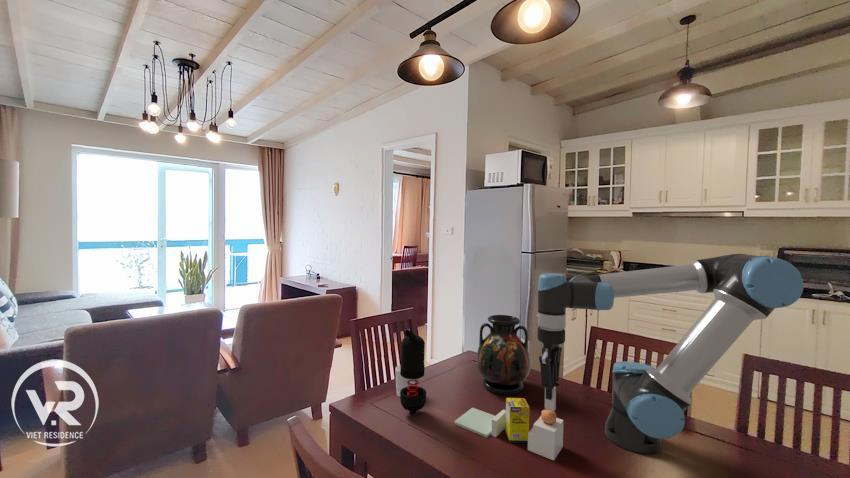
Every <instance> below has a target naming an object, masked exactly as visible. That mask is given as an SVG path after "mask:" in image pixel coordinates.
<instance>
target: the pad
mask: <svg viewBox="0 0 850 478" xmlns="http://www.w3.org/2000/svg"><path fill="white" fill-rule="evenodd" d="M495 416H496V415H494V414H491V413H488V412H486V411H482V410H480V409H478V408H475V407H471V408H470V409H469V410H467V411H466V412H464V413H463V414H461V415H460V416H459V417H458V418H456V419H455V420H454V421H453V425H454V426H457V427H460V428H463V429H464V430H467V431H470V432H472V433H475V434H477V435H479V436H481V437H484V438H486V439H487V438H489V437H490V436H491V433H492V419H493V418H494V417H495Z"/></svg>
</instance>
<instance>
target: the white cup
mask: <svg viewBox="0 0 850 478" xmlns="http://www.w3.org/2000/svg"><path fill="white" fill-rule="evenodd" d="M400 365H401V364H399V365H397V366H395V370H394V371H395V389H396V396H397V397H399V398H400V391H401V390H402V389H403V388H405V387H408V383H407V381H409V380H415V379H406V378H404V377H402V376H401V375H400V371H401V370H400V369H401V368H400ZM409 383H411V384H415V381H410V382H409ZM409 386H410V385H409Z"/></svg>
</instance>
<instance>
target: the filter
mask: <svg viewBox="0 0 850 478" xmlns="http://www.w3.org/2000/svg"><path fill="white" fill-rule="evenodd" d="M413 332H414V330H410V329H406V330H405V331H404V334H405V336H404V337H403V338H402V340H401V342H400V343H401V344H400V364H399V365H400V368H401V369H400V370H401V371H400V375H401V376H402V377H404V378H406V379H415V380H409V381H407V383H408V387H405V388H403V389H402V390H401V391H400V397H399V399H400V405H401V406H402V408H403V409H404V410H406V411H407V412H408V413H409V415H411V416H414V415H416V414H417V412H418V411H420V410H422V409H423V408H424V406H425V404H426V401H427V390H426V388H423V387H422V386H418V384H419V379H421V378H423V377H424V376H425V355H426V354H425V351H426V350H425V349H426V348H425V346H426V344H425V340H424V338H423V337H421V336H420V335H417V334H415V333H413ZM410 381H415V384H411V383H409V382H410ZM409 385H410V386H409Z"/></svg>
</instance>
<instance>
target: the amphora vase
mask: <svg viewBox="0 0 850 478" xmlns="http://www.w3.org/2000/svg"><path fill="white" fill-rule="evenodd" d="M487 321H488V322H489V323H487V322H484V323H482V325H481V326H480V328H479V341H478V342H479V343H478V349H477V351H476V357H475V365H476V367H477V371H478V372H479V374H480V376H481V377H482V379H481V385H482V386H483V388H484V389H486V390H487V391H490V392H492V393H493V394H498V395H515V394H518V393H520V392H521V391H522V390H523V389H524V383H523V382H524V381H525V380H526V379H527V377H528V376H529V374H530V372H531V364H532V363H531V357H530V353H529V333H528V329H527V328H526V327H525V326H524V325H519V324H520V323H521V319H520V318H518V317H516V316H514V315H507V314H495V315H493V314H492V315H490V316H488V317H487ZM491 324H492V325H491ZM485 327H488V328H489V331H490V332H489V333H488V334H487V335H486V336H485V338H483V332H484V328H485ZM519 330H523V331H524V332H523V333H524V341H522V339H521V338H520V337H519V336H518V332H519Z"/></svg>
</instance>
